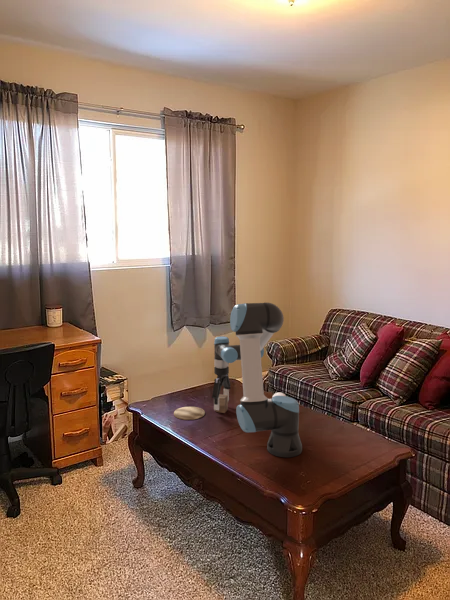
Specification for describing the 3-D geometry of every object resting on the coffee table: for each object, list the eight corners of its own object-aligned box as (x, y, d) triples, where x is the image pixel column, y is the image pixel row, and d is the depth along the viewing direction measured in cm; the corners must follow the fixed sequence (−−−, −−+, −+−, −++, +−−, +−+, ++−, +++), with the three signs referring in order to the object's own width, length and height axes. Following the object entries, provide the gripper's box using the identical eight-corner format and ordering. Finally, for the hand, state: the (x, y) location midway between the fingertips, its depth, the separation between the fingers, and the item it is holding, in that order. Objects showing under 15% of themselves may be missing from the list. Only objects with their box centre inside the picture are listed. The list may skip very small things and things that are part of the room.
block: (224, 413, 255) (224, 398, 254) (215, 411, 257) (215, 397, 255) (227, 409, 260) (227, 395, 258) (218, 408, 261) (218, 394, 260)
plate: (197, 421, 244) (197, 420, 244) (168, 417, 249) (168, 415, 249) (209, 410, 258) (209, 408, 258) (182, 406, 264) (182, 404, 264)
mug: (286, 406, 264) (287, 392, 263) (287, 413, 254) (287, 398, 253) (264, 405, 265) (264, 391, 264) (264, 412, 256) (264, 398, 254)
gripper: (219, 374, 242) (219, 415, 245) (236, 360, 265) (236, 398, 268) (205, 372, 244) (205, 412, 248) (223, 359, 267) (223, 396, 271)
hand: (221, 405), depth 258 cm, fingers open, 13 cm apart
